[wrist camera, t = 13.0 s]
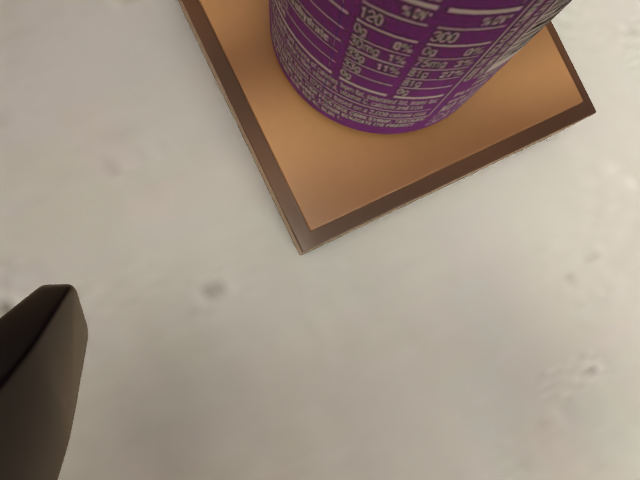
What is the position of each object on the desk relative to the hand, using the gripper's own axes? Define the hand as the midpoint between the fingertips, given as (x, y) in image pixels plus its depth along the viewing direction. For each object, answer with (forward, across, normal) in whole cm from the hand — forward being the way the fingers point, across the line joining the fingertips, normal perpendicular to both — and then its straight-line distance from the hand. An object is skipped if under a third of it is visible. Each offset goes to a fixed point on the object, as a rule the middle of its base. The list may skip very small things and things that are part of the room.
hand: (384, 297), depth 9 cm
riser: (+15, -2, +2) cm, 15 cm away
